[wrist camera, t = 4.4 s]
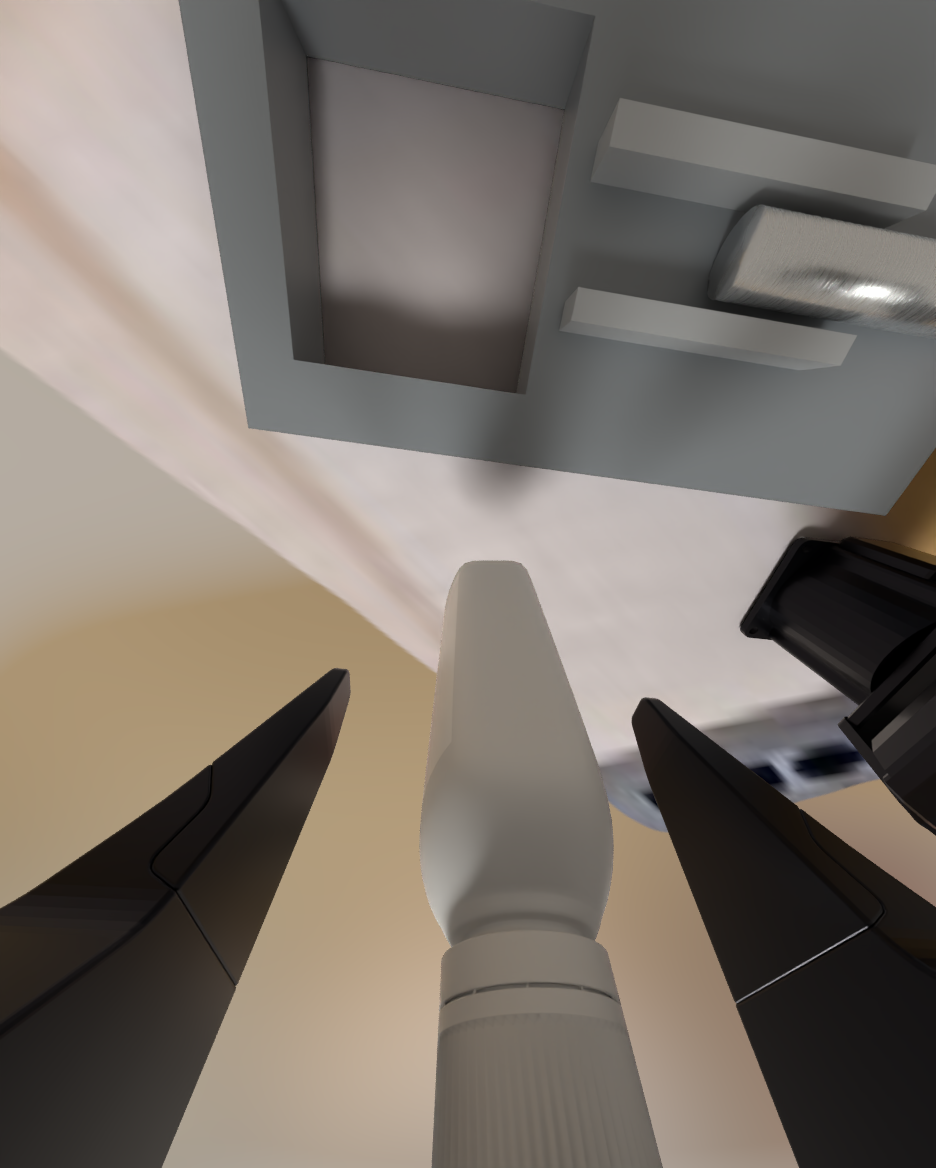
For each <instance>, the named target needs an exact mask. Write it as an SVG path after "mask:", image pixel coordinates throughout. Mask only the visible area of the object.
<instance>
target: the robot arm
mask: <svg viewBox="0 0 936 1168" xmlns="http://www.w3.org/2000/svg"><path fill="white" fill-rule="evenodd" d="M804 546H805V547H804ZM803 547H804V548H803ZM740 631H741V632H742V633H743V634H744V635H745V636H747V637H749V638H759V639H768V640H773V641H774V642H776V643H777V644H778V645H780V646H781V647H782V648H784V649H785V650H786V651H788V652H789V653H790V654H791V655H793V656H794V657H795V658H797V659H798V660H799V661H801V662H802V663H803V664H805V665H806V666H807V667H809V668H810V669H811V670H813V671H814V672H815V673H817V674H818V675H819V676H821V677H822V678H823V679H825V680H826V681H827V682H828V683H830V684H831V685H832V686H834V687H835V688H836V689H838V690H839V691H840V692H842V693H843V694H844V695H846V696H847V697H848V698H850V699H851V700H852V701H854V702H855V703H856V704H858V705H859V706H858V707H857V708H856V709H855V710H854V711H853V713H852V714H851V715H850V716H849V717H844V718H843V719H842V720H841V721H840V722H839V723H838V726H839V728H840V729H841V730H842V731H843V733H844V734H845V735H846V736H847V738H848V739H849V740H850V741H851V743H852V744H853V745H854V747H855V748H856V749H857V750H858V752H859V753H860V754H861V755H862V757H863V758H864V759H865V760H866V762H867V763H868V764H869V765H870V767H871V768H872V769H873V770H874V772H875V773H876V774H877V775H878V777H879V778H880V779H881V780H882V782H883V783H884V784H885V785H886V787H887V788H888V789H889V790H890V792H891V793H892V794H893V795H894V797H895V798H896V799H897V800H898V802H899V803H900V804H901V805H902V806H903V807H904V808H905V809H906V810H907V811H908V813H910V815H911V816H912V817H913V818H914V820H915V821H916V822H918V823H919V824H920V825H921V826H923V827H925V828H926V829H928V830H929V831H931V832H932V833H933V834H934V835H936V556H934V555H931V554H928V553H925V552H921V551H918V550H915V549H912V548H909V547H905V546H902V545H899V544H896V543H893V542H887V541H880V540H872V539H865V538H857V537H848V538H844V539H843V540H842V541H841V542H838V541H830V540H822V539H815V538H807V537H805V538H800V539H798V540H797V541H795V542H794V543H793V545H792V546H791V548H790V549H789V551H788V553H787V554H786V556H785V557H784V559H783V561H782V562H781V564H780V565H779V567H778V569H777V570H776V572H775V573H774V575H773V577H772V578H771V580H770V581H769V583H768V585H767V586H766V588H765V589H764V591H763V592H762V594H761V596H760V597H759V599H758V600H757V602H756V604H755V605H754V607H753V608H752V610H751V612H750V613H749V615H748V616H747V618H746V620H745V621H744V623H743V624H742V626H741V628H740ZM349 698H350V674H349V671H348V670H347V669H339V668H334V669H332V670H330V671H329V672H328V673H326V674H325V675H324V676H322V677H321V678H320V679H319V680H317V681H316V682H315V683H313V684H312V685H311V686H310V687H309V688H307V689H306V690H305V691H303V692H302V693H301V694H299V695H298V696H297V697H296V698H294V699H293V700H292V701H291V702H289V703H288V704H287V705H285V706H284V707H283V708H282V709H280V710H279V711H278V712H276V713H275V714H274V715H273V716H271V717H270V718H269V719H267V720H266V721H265V722H264V723H262V724H261V725H260V726H258V727H257V728H256V729H255V730H253V731H252V732H251V733H249V734H248V735H247V736H246V737H245V738H243V739H242V740H240V741H239V742H238V743H237V744H235V745H234V746H233V747H232V748H230V749H229V750H228V751H227V752H225V753H224V754H223V755H221V756H220V757H219V758H217V759H216V760H215V761H214V762H213V763H212V765H209V766H207V767H206V768H204V769H203V770H202V771H201V772H199V773H198V774H197V775H195V776H194V777H193V778H192V779H190V780H189V781H188V782H186V783H185V784H184V785H182V786H181V787H180V788H178V789H177V790H176V791H174V792H173V793H172V794H171V795H169V796H168V797H166V798H165V799H164V800H162V801H161V802H160V803H158V804H157V805H155V806H154V807H152V808H151V809H149V810H148V811H147V812H145V813H144V814H142V815H141V816H139V817H138V818H137V819H135V820H134V821H132V822H131V823H130V824H128V825H127V826H125V827H124V828H122V829H121V830H119V831H118V832H116V833H115V834H113V835H112V836H110V837H109V838H108V839H106V840H104V841H103V842H102V843H100V844H99V845H97V846H96V847H94V848H93V849H91V850H90V851H88V852H87V853H85V854H84V855H83V856H81V857H79V859H77V860H75V861H74V862H72V863H71V864H69V865H68V866H66V867H65V868H63V869H62V870H60V871H59V872H58V873H56V874H55V875H53V876H52V877H50V878H49V879H47V880H46V881H44V882H43V883H41V884H40V885H38V886H37V887H35V888H34V889H32V890H30V891H29V892H27V893H26V894H24V895H22V896H21V897H19V898H18V899H16V900H14V901H12V902H11V903H9V904H7V905H6V906H4V907H2V908H0V1168H162V1165H163V1163H164V1161H165V1158H166V1155H167V1153H168V1151H169V1148H170V1146H171V1144H172V1141H173V1139H174V1136H175V1134H176V1132H177V1129H178V1127H179V1124H180V1122H181V1120H182V1117H183V1115H184V1112H185V1110H186V1108H187V1105H188V1103H189V1100H190V1098H191V1096H192V1093H193V1091H194V1088H195V1086H196V1083H197V1081H198V1079H199V1076H200V1074H201V1071H202V1069H203V1067H204V1064H205V1062H206V1059H207V1057H208V1055H209V1052H210V1050H211V1047H212V1045H213V1043H214V1040H215V1038H216V1035H217V1033H218V1030H219V1028H220V1026H221V1023H222V1021H223V1019H224V1016H225V1014H226V1011H227V1009H228V1006H229V1004H230V1001H231V999H232V997H233V994H234V992H235V989H236V987H235V986H236V985H237V984H238V982H239V980H240V977H241V975H242V972H243V970H244V967H245V965H246V963H247V960H248V958H249V955H250V953H251V951H252V948H253V946H254V943H255V941H256V939H257V936H258V934H259V931H260V929H261V926H262V924H263V922H264V919H265V917H266V915H267V912H268V910H269V907H270V905H271V903H272V900H273V898H274V895H275V893H276V890H277V888H278V886H279V883H280V881H281V878H282V876H283V874H284V871H285V869H286V866H287V864H288V862H289V859H290V857H291V854H292V852H293V849H294V847H295V845H296V842H297V840H298V837H299V835H300V832H301V830H302V828H303V826H304V823H305V821H306V818H307V816H308V814H309V811H310V809H311V806H312V804H313V801H314V799H315V797H316V794H317V792H318V789H319V787H320V785H321V782H322V780H323V777H324V775H325V773H326V770H327V768H328V765H329V763H330V760H331V758H332V755H333V752H334V749H335V746H336V743H337V739H338V736H339V733H340V729H341V726H342V722H343V719H344V715H345V712H346V708H347V705H348V702H349ZM632 727H633V730H634V734H635V737H636V741H637V744H638V748H639V751H640V755H641V758H642V762H643V765H644V769H645V772H646V775H647V778H648V781H649V784H650V786H651V789H652V792H653V794H654V797H655V799H656V802H657V804H658V807H659V809H660V812H661V815H662V817H663V820H664V822H665V825H666V827H667V830H668V833H669V835H670V838H671V840H672V843H673V845H674V848H675V850H676V853H677V856H678V858H679V861H680V863H681V866H682V868H683V871H684V873H685V876H686V879H687V881H688V884H689V886H690V889H691V891H692V894H693V896H694V899H695V901H696V904H697V907H698V909H699V912H700V914H701V917H702V919H703V922H704V925H705V927H706V930H707V932H708V935H709V937H710V940H711V942H712V945H713V947H714V950H715V953H716V955H717V958H718V961H719V963H720V965H721V968H722V971H723V973H724V976H725V978H726V981H727V984H728V986H729V988H730V991H731V994H732V996H733V999H734V1001H735V1002H736V1003H737V1004H736V1007H737V1010H738V1012H739V1015H740V1017H741V1020H742V1023H743V1025H744V1028H745V1030H746V1033H747V1035H748V1038H749V1041H750V1043H751V1046H752V1048H753V1050H754V1053H755V1056H756V1058H757V1061H758V1063H759V1066H760V1069H761V1071H762V1074H763V1076H764V1079H765V1081H766V1084H767V1087H768V1089H769V1091H770V1094H771V1097H772V1099H773V1102H774V1104H775V1107H776V1110H777V1112H778V1115H779V1117H780V1120H781V1122H782V1125H783V1128H784V1130H785V1133H786V1135H787V1138H788V1140H789V1143H790V1145H791V1148H792V1151H793V1153H794V1156H795V1158H796V1161H797V1163H798V1166H799V1168H936V907H935V906H933V905H932V904H930V903H929V902H928V901H926V900H925V899H923V898H922V897H921V896H919V895H918V894H916V893H915V892H913V891H912V890H911V889H909V888H908V887H906V886H905V885H903V884H902V883H901V882H899V881H898V880H897V879H895V878H894V877H892V876H891V875H889V874H888V873H887V872H885V871H884V870H882V869H881V868H880V867H878V866H877V865H876V864H874V863H873V862H871V861H870V860H868V859H867V858H866V857H864V856H863V855H862V854H860V853H859V852H857V851H856V850H855V849H853V848H852V847H850V846H849V845H848V844H846V843H845V842H844V841H842V840H841V839H840V838H839V837H837V836H836V835H834V834H833V833H832V832H831V831H829V830H828V829H826V828H825V827H824V826H823V825H821V824H820V823H819V822H817V821H816V820H815V819H813V818H812V817H811V816H810V815H808V814H807V813H806V812H804V811H803V810H802V809H799V808H798V806H797V805H795V804H794V803H793V802H791V801H790V800H789V799H788V798H786V797H785V796H784V795H782V794H781V793H780V792H778V791H777V790H776V789H775V788H773V787H772V786H771V785H769V784H768V783H767V782H765V781H764V780H763V779H762V778H760V777H759V776H758V775H756V774H755V773H754V772H753V771H751V770H750V769H749V768H747V767H746V766H745V765H743V764H742V763H741V762H740V761H738V760H737V759H736V758H734V757H733V756H732V755H730V754H729V753H728V752H727V751H725V750H724V749H723V748H721V747H720V746H719V745H717V744H716V743H715V742H714V741H712V740H711V739H710V738H708V737H707V736H706V735H704V734H703V733H702V732H701V731H699V730H698V729H697V728H695V727H694V726H693V725H691V724H690V723H689V722H688V721H686V720H685V719H684V718H682V717H681V716H680V715H679V714H677V713H676V712H675V711H673V710H672V709H671V708H669V707H668V706H667V705H666V704H664V703H663V702H662V701H660V700H659V699H656V698H643V699H641V701H640V702H639V704H638V706H637V708H636V710H635V712H634V714H633V716H632Z"/></svg>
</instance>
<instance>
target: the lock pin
mask: <svg viewBox="0 0 936 1168" xmlns="http://www.w3.org/2000/svg"><path fill="white" fill-rule="evenodd" d="M707 294H708V297H709V298H710V299H712V300H717V301H722V302H728V303H734V304H739V305H745V306H751V307H756V308H762V309H768V310H774V311H779V312H785V313H791V314H796V315H802V316H808V317H813V318H819V319H825V320H830V321H836V322H842V323H847V324H853V325H859V326H864V327H870V328H876V329H882V330H887V331H893V332H899V333H904V334H910V335H916V336H921V337H927V338H933V339H936V239H933V238H928V237H923V236H918V235H913V234H908V233H902V232H897V231H892V230H887V229H882V228H877V227H872V226H867V225H862V224H857V223H852V222H847V221H841V220H836V219H831V218H826V217H821V216H816V215H811V214H806V213H801V212H796V211H791V210H786V209H780V208H775V207H770V206H765V205H757V206H754V207H753V208H751V209H750V210H749V211H748V212H747V213H745V214H744V215H743V217H742V218H741V219H740V220H739V221H738V222H737V224H736V225H735V226H734V228H733V229H732V230H731V232H730V233H729V235H728V236H727V238H726V240H725V241H724V243H723V245H722V247H721V249H720V251H719V253H718V255H717V257H716V259H715V261H714V264H713V266H712V269H711V272H710V276H709V279H708V285H707Z"/></svg>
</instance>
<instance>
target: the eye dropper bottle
mask: <svg viewBox="0 0 936 1168" xmlns="http://www.w3.org/2000/svg"><path fill="white" fill-rule="evenodd" d="M613 851H614V850H613V829H612V819H611V814H610V809H609V803H608V798H607V794H606V791H605V787H604V784H603V780H602V777H601V773H600V770H599V766H598V763H597V760H596V757H595V754H594V752H593V749H592V746H591V743H590V740H589V737H588V734H587V732H586V729H585V726H584V723H583V720H582V717H581V715H580V712H579V709H578V706H577V703H576V700H575V698H574V695H573V692H572V689H571V687H570V684H569V681H568V679H567V676H566V673H565V670H564V668H563V665H562V662H561V659H560V657H559V654H558V651H557V648H556V646H555V643H554V640H553V637H552V635H551V632H550V629H549V627H548V624H547V621H546V618H545V616H544V613H543V610H542V608H541V605H540V602H539V600H538V597H537V594H536V592H535V589H534V586H533V583H532V581H531V578H530V576H529V574H528V572H527V570H526V568H525V567H524V566H523V565H522V564H521V563H518V562H514V561H471V562H468V563H465V564H464V565H463V566H462V567H460V568H459V570H458V572H457V574H456V575H455V578H454V580H453V582H452V585H451V588H450V590H449V594H448V597H447V601H446V606H445V612H444V619H443V628H442V637H441V645H440V654H439V663H438V671H437V680H436V688H435V697H434V706H433V714H432V723H431V732H430V741H429V750H428V758H427V767H426V777H425V785H424V795H423V803H422V814H421V825H420V861H421V871H422V877H423V882H424V886H425V891H426V895H427V898H428V901H429V904H430V907H431V909H432V912H433V914H434V916H435V918H436V920H437V922H438V924H439V925H440V927H441V929H442V931H443V933H444V935H445V937H446V939H447V940H448V942H449V944H450V945H451V948H450V949H449V950H447V951H446V952H445V954H444V955H443V957H442V963H441V984H440V1005H439V1026H438V1048H437V1068H436V1090H435V1111H434V1131H433V1152H432V1168H663V1167H662V1163H661V1159H660V1156H659V1152H658V1147H657V1143H656V1140H655V1136H654V1132H653V1128H652V1124H651V1120H650V1116H649V1112H648V1108H647V1105H646V1101H645V1097H644V1093H643V1089H642V1085H641V1081H640V1077H639V1074H638V1070H637V1066H636V1062H635V1058H634V1054H633V1050H632V1046H631V1042H630V1039H629V1035H628V1030H627V1026H626V1023H625V1019H624V1015H623V1011H622V1007H621V1003H620V999H619V995H618V992H617V987H616V984H615V980H614V976H613V972H612V968H611V964H610V960H609V957H608V953H607V951H606V949H605V948H604V947H603V946H602V945H600V944H599V943H597V942H596V941H595V939H596V937H597V934H598V931H599V927H600V924H601V919H602V916H603V913H604V910H605V907H606V903H607V900H608V895H609V891H610V885H611V878H612V870H613Z"/></svg>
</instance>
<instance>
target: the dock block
mask: <svg viewBox="0 0 936 1168" xmlns="http://www.w3.org/2000/svg"><path fill="white" fill-rule="evenodd" d="M179 5H180V12H181V18H182V24H183V30H184V36H185V42H186V48H187V54H188V61H189V67H190V73H191V79H192V85H193V91H194V97H195V103H196V110H197V116H198V122H199V128H200V134H201V140H202V146H203V153H204V159H205V165H206V171H207V177H208V183H209V189H210V195H211V202H212V208H213V214H214V220H215V226H216V232H217V238H218V244H219V251H220V257H221V263H222V269H223V275H224V281H225V287H226V293H227V300H228V306H229V312H230V318H231V324H232V330H233V336H234V342H235V349H236V355H237V361H238V367H239V373H240V379H241V385H242V391H243V398H244V404H245V410H246V416H247V422H248V428H252V429H259V430H266V431H274V432H281V433H288V434H295V435H303V436H310V437H317V438H324V439H332V440H339V441H346V442H354V443H361V444H368V445H375V446H383V447H390V448H397V449H404V450H412V451H419V452H426V453H433V454H441V455H448V456H455V457H462V458H470V459H477V460H484V461H491V462H499V463H506V464H513V465H520V466H528V467H535V468H542V469H550V470H557V471H564V472H571V473H579V474H586V475H593V476H600V477H608V478H615V479H622V480H629V481H637V482H644V483H651V484H658V485H666V486H673V487H680V488H687V489H695V490H702V491H709V492H716V493H724V494H731V495H738V496H745V497H753V498H760V499H767V500H775V501H782V502H789V503H796V504H804V505H811V506H818V507H825V508H833V509H840V510H847V511H854V512H862V513H869V514H876V515H883V516H886V515H887V513H888V512H889V511H890V509H891V508H892V507H893V505H894V504H895V503H896V501H897V500H898V498H899V497H900V496H901V494H902V493H903V492H904V490H905V489H906V488H907V486H908V485H909V483H910V482H911V481H912V479H913V478H914V477H915V475H916V474H917V473H918V471H919V470H920V468H921V467H922V466H923V464H924V463H925V462H926V460H927V459H928V458H929V456H930V455H931V454H932V452H933V451H934V449H935V448H936V339H933V338H927V337H921V336H916V335H910V334H904V333H899V332H893V331H887V330H882V329H876V328H870V327H864V326H859V325H853V324H847V323H842V322H836V321H830V320H825V319H819V318H813V317H808V316H802V315H796V314H791V313H785V312H779V311H774V310H768V309H762V308H756V307H751V306H745V305H739V304H734V303H728V302H722V301H717V300H712V299H710V298H709V297H708V294H707V285H708V279H709V276H710V272H711V269H712V266H713V264H714V261H715V259H716V257H717V255H718V253H719V251H720V249H721V247H722V245H723V243H724V241H725V240H726V238H727V236H728V235H729V233H730V232H731V230H732V229H733V228H734V226H735V225H736V224H737V222H738V221H739V220H740V219H741V218H742V217H743V215H744V214H745V213H747V212H748V211H749V210H750V209H751V208H753V207H754V206H757V205H765V206H770V207H775V208H780V209H786V210H791V211H796V212H801V213H806V214H811V215H816V216H821V217H826V218H831V219H836V220H841V221H847V222H852V223H857V224H862V225H867V226H872V227H877V228H882V229H887V230H892V231H897V232H902V233H908V234H913V235H918V236H923V237H928V238H933V239H936V0H179ZM306 56H309V57H314V58H319V59H323V60H328V61H333V62H338V63H343V64H348V65H352V66H357V67H362V68H367V69H372V70H376V71H381V72H386V73H391V74H396V75H400V76H405V77H410V78H415V79H420V80H425V81H429V82H434V83H439V84H444V85H449V86H453V87H458V88H463V89H468V90H473V91H478V92H482V93H487V94H492V95H497V96H502V97H506V98H511V99H516V100H521V101H526V102H531V103H535V104H540V105H545V106H550V107H555V108H559V109H564V110H565V111H564V117H563V122H562V128H561V134H560V140H559V146H558V152H557V157H556V163H555V169H554V175H553V181H552V187H551V192H550V198H549V204H548V210H547V216H546V222H545V227H544V233H543V239H542V245H541V251H540V257H539V262H538V268H537V274H536V280H535V286H534V291H533V297H532V303H531V309H530V315H529V321H528V326H527V332H526V338H525V344H524V350H523V356H522V361H521V367H520V373H519V379H518V385H517V391H516V393H510V392H503V391H497V390H490V389H484V388H477V387H470V386H464V385H457V384H451V383H444V382H437V381H431V380H424V379H417V378H411V377H404V376H398V375H391V374H384V373H378V372H371V371H365V370H358V369H351V368H345V367H338V366H332V365H325V357H324V340H323V324H322V307H321V291H320V274H319V257H318V241H317V224H316V208H315V191H314V175H313V158H312V142H311V125H310V108H309V92H308V75H307V59H306Z"/></svg>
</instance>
